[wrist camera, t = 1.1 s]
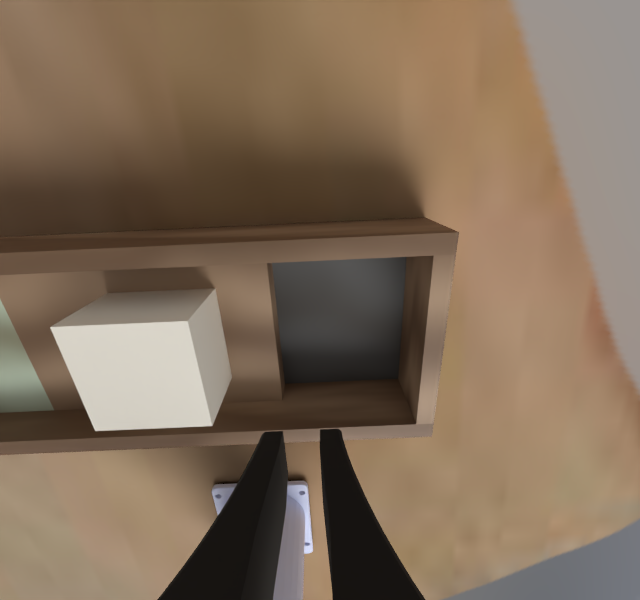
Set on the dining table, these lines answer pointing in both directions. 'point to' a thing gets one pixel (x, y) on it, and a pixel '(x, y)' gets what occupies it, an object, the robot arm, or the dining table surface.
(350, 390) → the trap box
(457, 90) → the dining table surface
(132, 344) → the cream block
